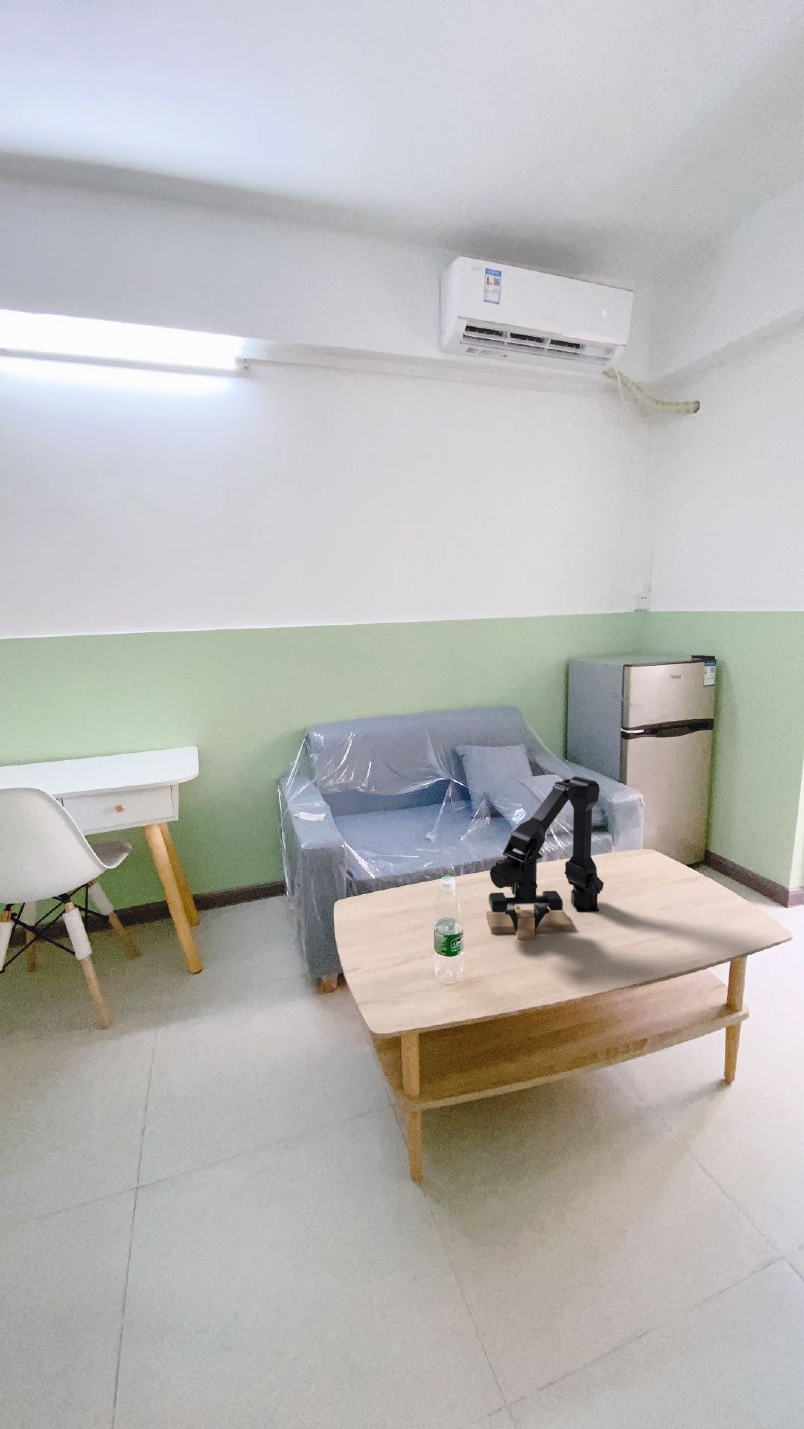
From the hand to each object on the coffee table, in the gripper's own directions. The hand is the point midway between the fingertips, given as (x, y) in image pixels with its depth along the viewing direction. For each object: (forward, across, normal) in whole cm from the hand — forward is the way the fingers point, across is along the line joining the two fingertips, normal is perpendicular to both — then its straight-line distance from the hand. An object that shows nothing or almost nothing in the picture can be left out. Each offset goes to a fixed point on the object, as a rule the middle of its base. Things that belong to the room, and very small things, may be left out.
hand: (524, 930), depth 146 cm
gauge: (+1, 0, -4) cm, 4 cm away
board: (+2, -2, -6) cm, 6 cm away
